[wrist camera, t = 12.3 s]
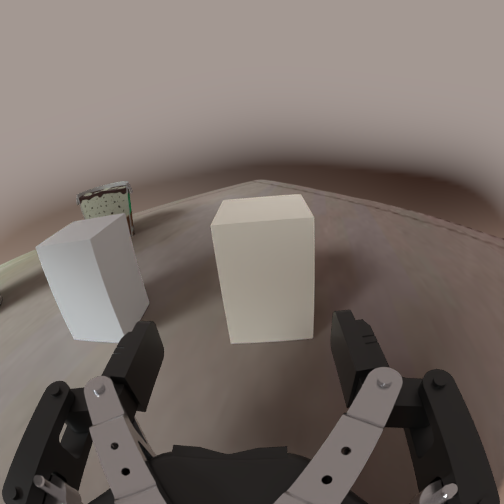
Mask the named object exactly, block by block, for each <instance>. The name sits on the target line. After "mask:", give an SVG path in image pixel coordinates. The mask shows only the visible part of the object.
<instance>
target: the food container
mask: <svg viewBox="0 0 504 504" xmlns="http://www.w3.org/2000/svg"><path fill="white" fill-rule="evenodd" d="M132 192H133V191H132V188H131V186H130V184H129V183H128V181H123V182H116V183H112V184H107V185H104V186H99V187H96V188H93V189H90V190H87V191H84V192H82V193H80V194H77V205H80V208H81V211H82V214H83V217H84V220H85V219H91V218H97V217H103V216H109V215H115V214H122V213H125V214H126V219H127V223H128V227H129V232H130V236H133V235H134V228H133V220H132V211H131V202H130V194H131V193H132Z"/></svg>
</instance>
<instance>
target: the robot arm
mask: <svg viewBox="0 0 504 504" xmlns="http://www.w3.org/2000/svg"><path fill="white" fill-rule="evenodd" d="M1 302H2V297H1V294H0V304H1ZM331 350H332V354H333V357H334V361H335V365H336V368H337V372H338V376H339V379H340V383H341V387H342V391H343V395H344V399H345V402H346V406H347V408H349V407H350V408H349V410H348V411H347V413H344V414H343V415H342V416H341V418H340V419H339V421H338V422H337V424H336V426H335V427H334V429H333V430H332V432H331V433H330V435H329V436H328V438H327V439H326V440H325V442H324V443H323V445H322V446H321V448H320V449H319V450H318V452H317V453H316V455H315V456H314V457H313V459H312V460H310V459H308V458H306V457H303V456H300V455H296V454H291V453H287V446H285V447H269V448H256V449H251V450H247V451H243V452H238V453H233V454H224V453H220V452H216V451H212V450H208V449H205V448H201V447H193V446H181V445H173V450H172V452H168V453H163V454H160V455H157V456H156V454H155V453H154V452H153V450H152V448H151V447H150V445H149V443H148V441H147V439H146V437H145V435H144V433H143V431H142V429H141V427H140V425H139V423H138V421H137V419H136V418H135V413H136V411H142V412H146V409H147V406H148V403H149V399H150V396H151V393H152V390H153V387H154V384H155V381H156V378H157V376H158V373H159V370H160V367H161V364H162V361H163V358H164V347H163V344H162V341H161V339H160V336H159V333H158V330H157V327H156V325H155V323H154V322H153V321H138V322H137V323H136V324H135V326H134V328H133V330H132V332H128V333H127V334H125V335H124V336H123V337H122V338H121V340H120V341H119V343H118V345H117V348H116V349H115V351H114V354H112V356H111V358H110V360H109V362H108V364H107V366H106V368H105V370H104V372H103V374H102V376H97V377H94V378H92V379H91V380H90V381H88V382H87V384H86V385H85V387H84V388H76V389H70V388H69V386H68V385H67V383H65V382H63V381H56V382H54V383H52V384H50V385H49V386H48V387H47V388H46V390H45V392H44V394H43V396H42V398H41V400H40V402H39V403H38V405H37V407H36V409H35V412H34V414H33V416H32V418H31V420H30V422H29V424H28V426H27V428H26V431H25V433H24V435H23V437H22V440H21V442H20V444H19V447H18V449H17V451H16V454H15V456H14V459H13V461H12V464H11V466H10V469H9V472H8V475H7V477H6V480H5V483H4V486H3V490H2V495H3V499H4V502H5V503H6V504H83V503H82V502H81V496H80V494H79V492H78V490H79V487H80V483H81V479H82V476H83V472H84V468H85V465H86V462H87V458H88V455H89V452H90V448H91V445H92V442H93V443H94V446H95V449H96V452H97V455H98V458H99V461H100V463H101V466H102V469H103V471H104V474H105V476H106V479H107V481H108V483H109V486H110V489H109V490H107V491H106V492H104V493H103V494H102V495H100V496H99V497H97V498H96V499H94V500H93V501H91V502H90V503H88V504H368V503H367V502H365V501H364V500H363V499H361V498H360V497H359V496H357V495H356V494H355V493H353V492H352V491H351V490H350V489H351V487H352V485H353V484H354V482H355V481H356V479H357V477H358V476H359V474H360V472H361V471H362V469H363V467H364V465H365V464H366V462H367V460H368V458H369V456H370V455H371V453H372V451H373V449H374V447H375V445H376V443H377V441H378V439H379V437H380V435H381V433H382V431H383V429H384V427H394V428H404V431H405V435H406V438H407V442H408V446H409V450H410V454H411V458H412V462H413V466H414V471H415V475H416V480H417V484H418V489H419V493H418V494H417V495H415V496H414V497H413V498H412V500H411V501H410V503H409V504H500V499H499V495H498V491H497V488H496V484H495V481H494V477H493V474H492V471H491V468H490V465H489V462H488V459H487V456H486V453H485V450H484V448H483V445H482V442H481V440H480V437H479V435H478V432H477V430H476V427H475V425H474V422H473V420H472V418H471V415H470V413H469V411H468V408H467V406H466V404H465V402H464V400H463V398H462V395H461V393H460V391H459V389H458V387H457V385H456V383H455V381H454V379H453V377H452V376H451V375H450V374H449V373H448V372H446V371H444V370H440V369H434V370H431V371H429V372H427V373H426V374H425V376H424V377H423V379H417V378H404V377H401V375H400V374H399V373H398V372H397V371H396V370H394V369H392V368H390V367H389V365H388V363H387V361H386V359H385V356H384V354H383V352H382V350H381V348H380V345H379V343H377V339H376V337H375V336H374V333H373V331H372V329H371V326H370V325H368V324H367V323H366V322H365V321H364V320H363V319H361V320H355V318H354V316H353V314H352V312H351V310H342V311H334V312H333V316H332V328H331ZM64 423H66V424H67V427H66V430H65V432H64V435H63V437H62V440H61V443H60V442H59V435H60V433H61V430H62V428H63V425H64Z"/></svg>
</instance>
